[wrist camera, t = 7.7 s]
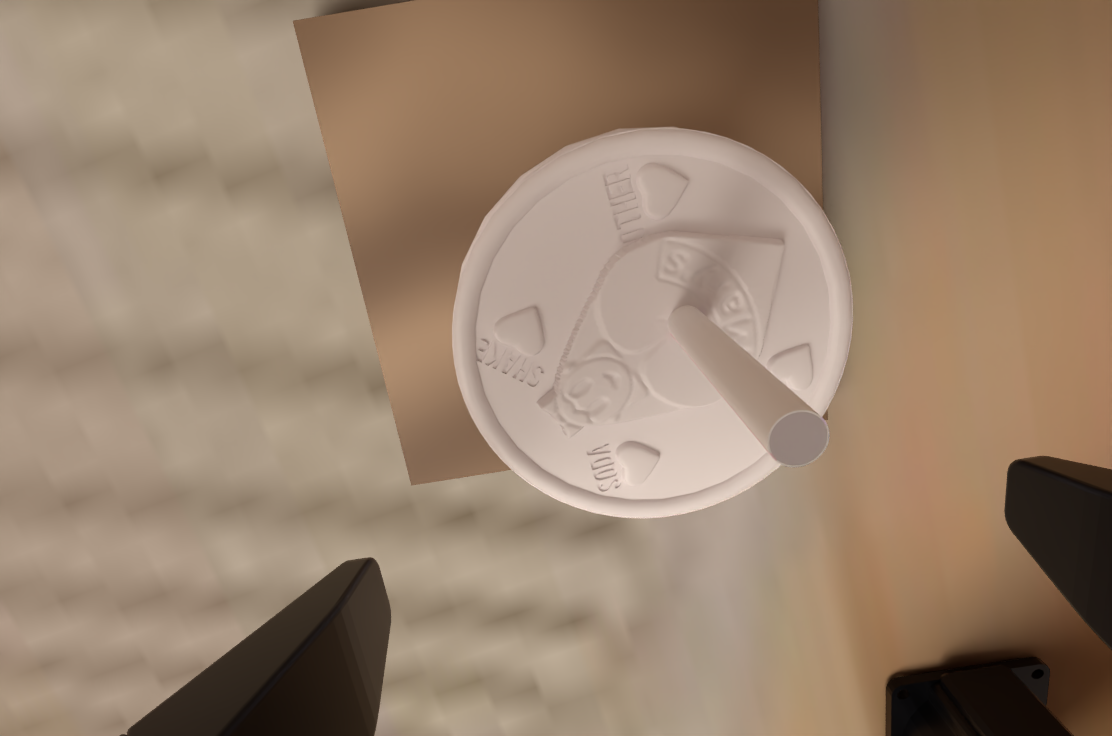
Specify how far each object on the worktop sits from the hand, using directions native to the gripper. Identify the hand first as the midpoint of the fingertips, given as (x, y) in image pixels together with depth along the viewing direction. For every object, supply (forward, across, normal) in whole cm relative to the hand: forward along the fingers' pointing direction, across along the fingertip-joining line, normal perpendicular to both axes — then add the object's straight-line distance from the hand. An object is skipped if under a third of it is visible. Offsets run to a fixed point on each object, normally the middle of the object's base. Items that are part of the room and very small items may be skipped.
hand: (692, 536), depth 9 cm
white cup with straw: (+12, 0, -2) cm, 12 cm away
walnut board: (+13, 0, -3) cm, 13 cm away
